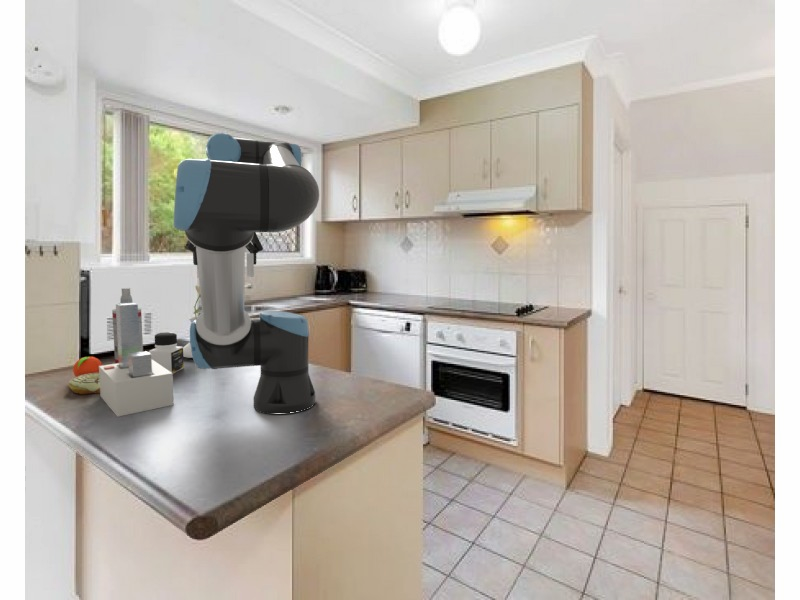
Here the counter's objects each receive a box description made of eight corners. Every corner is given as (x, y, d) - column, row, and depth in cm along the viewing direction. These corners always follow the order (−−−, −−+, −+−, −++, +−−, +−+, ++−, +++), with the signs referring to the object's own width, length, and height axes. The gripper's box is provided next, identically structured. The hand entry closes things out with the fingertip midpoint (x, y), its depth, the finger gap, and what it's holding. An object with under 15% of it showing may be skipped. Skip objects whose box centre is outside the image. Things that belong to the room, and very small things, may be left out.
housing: (152, 387, 123) (150, 357, 122) (173, 404, 110) (172, 371, 109) (100, 396, 115) (98, 364, 114) (117, 416, 102) (115, 381, 101)
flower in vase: (212, 359, 153) (210, 287, 150) (176, 361, 150) (173, 287, 147) (217, 351, 165) (216, 283, 162) (184, 352, 162) (181, 283, 159)
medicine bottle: (172, 374, 135) (170, 335, 133) (149, 373, 135) (147, 334, 133) (184, 368, 142) (182, 331, 140) (162, 367, 142) (160, 330, 141)
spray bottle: (125, 369, 138) (121, 289, 135) (110, 366, 142) (105, 288, 139) (148, 364, 145) (145, 287, 142) (133, 361, 149) (130, 286, 146)
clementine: (91, 385, 123) (90, 360, 122) (65, 385, 123) (63, 360, 122) (108, 377, 131) (107, 353, 130) (83, 376, 130) (82, 353, 130)
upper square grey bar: (140, 371, 115) (137, 304, 113) (123, 374, 112) (119, 305, 110) (136, 368, 118) (133, 302, 116) (119, 370, 115) (115, 303, 113)
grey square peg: (153, 406, 109) (151, 354, 107) (134, 410, 106) (132, 356, 104) (148, 401, 112) (146, 351, 110) (130, 405, 109) (127, 353, 107)
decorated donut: (96, 397, 115) (95, 383, 114) (59, 394, 116) (58, 380, 115) (126, 384, 125) (125, 371, 124) (91, 382, 126) (91, 369, 126)
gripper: (261, 202, 130) (262, 275, 132) (169, 193, 113) (172, 277, 115) (274, 200, 124) (275, 276, 127) (179, 191, 107) (182, 279, 110)
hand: (226, 277), depth 121 cm, fingers open, 13 cm apart
